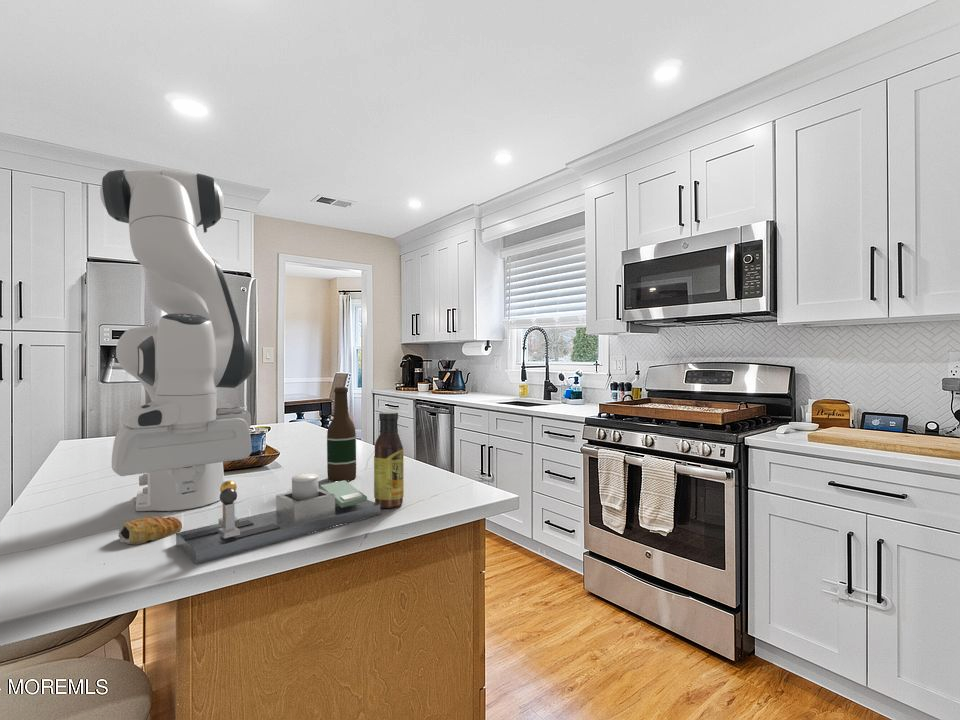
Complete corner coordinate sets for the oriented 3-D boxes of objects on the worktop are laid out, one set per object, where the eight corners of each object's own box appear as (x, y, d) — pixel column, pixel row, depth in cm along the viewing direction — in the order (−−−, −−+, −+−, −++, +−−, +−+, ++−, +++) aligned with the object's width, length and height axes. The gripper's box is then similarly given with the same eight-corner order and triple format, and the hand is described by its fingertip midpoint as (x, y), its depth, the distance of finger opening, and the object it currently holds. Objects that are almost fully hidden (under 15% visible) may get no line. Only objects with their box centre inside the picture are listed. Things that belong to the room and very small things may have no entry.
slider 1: (217, 523, 88) (217, 480, 88) (233, 520, 90) (232, 478, 90) (224, 527, 86) (223, 483, 86) (239, 524, 88) (239, 481, 88)
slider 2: (217, 533, 83) (216, 488, 83) (233, 529, 85) (233, 485, 85) (223, 538, 81) (223, 491, 81) (240, 534, 83) (239, 488, 83)
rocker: (319, 489, 103) (320, 483, 103) (344, 484, 107) (344, 478, 107) (341, 507, 97) (342, 501, 96) (366, 501, 101) (367, 495, 100)
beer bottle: (321, 481, 129) (320, 388, 128) (334, 474, 136) (333, 386, 136) (349, 482, 127) (348, 388, 127) (362, 475, 135) (360, 386, 135)
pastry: (172, 526, 96) (171, 506, 96) (189, 533, 92) (189, 512, 92) (115, 541, 89) (114, 519, 89) (131, 549, 85) (131, 527, 85)
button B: (287, 499, 96) (287, 476, 96) (311, 494, 99) (311, 472, 99) (298, 504, 93) (298, 481, 93) (323, 499, 96) (322, 476, 96)
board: (176, 544, 86) (175, 512, 86) (350, 502, 109) (350, 477, 109) (196, 564, 78) (195, 528, 78) (380, 514, 101) (380, 487, 101)
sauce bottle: (397, 510, 104) (396, 414, 104) (369, 508, 105) (368, 414, 105) (408, 501, 110) (407, 411, 110) (381, 499, 111) (380, 410, 111)
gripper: (244, 404, 93) (244, 478, 94) (109, 413, 79) (109, 501, 79) (257, 407, 89) (257, 485, 89) (117, 418, 74) (117, 510, 75)
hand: (186, 492), depth 84 cm, fingers closed
